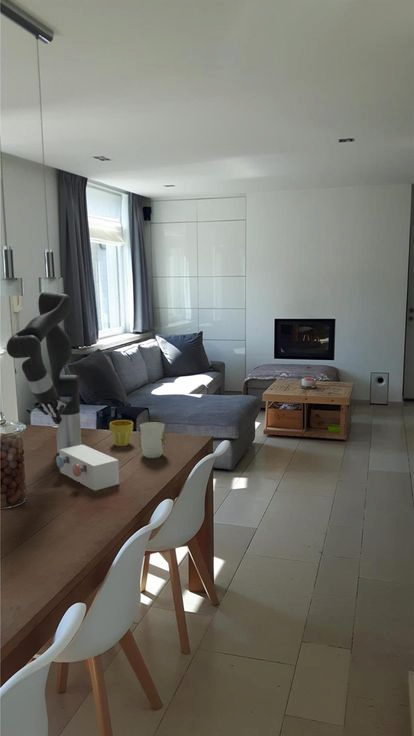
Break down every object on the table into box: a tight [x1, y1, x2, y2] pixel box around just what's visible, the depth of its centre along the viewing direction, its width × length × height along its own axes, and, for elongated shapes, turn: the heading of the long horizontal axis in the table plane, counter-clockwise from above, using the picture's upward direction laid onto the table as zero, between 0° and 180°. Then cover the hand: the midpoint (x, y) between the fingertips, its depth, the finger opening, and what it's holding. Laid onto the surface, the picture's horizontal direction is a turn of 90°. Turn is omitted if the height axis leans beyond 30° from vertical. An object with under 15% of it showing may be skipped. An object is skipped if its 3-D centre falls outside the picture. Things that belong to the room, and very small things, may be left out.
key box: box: [58, 444, 120, 492], centre depth 214 cm, size 10×26×9 cm, turn 41°
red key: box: [73, 464, 86, 477], centre depth 206 cm, size 8×4×4 cm, turn 131°
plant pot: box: [109, 419, 134, 447], centre depth 257 cm, size 10×10×10 cm
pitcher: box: [138, 421, 167, 459], centre depth 241 cm, size 11×18×14 cm, turn 178°
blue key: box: [55, 455, 69, 469], centre depth 216 cm, size 8×4×4 cm, turn 131°
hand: (58, 422), depth 207 cm, fingers closed
